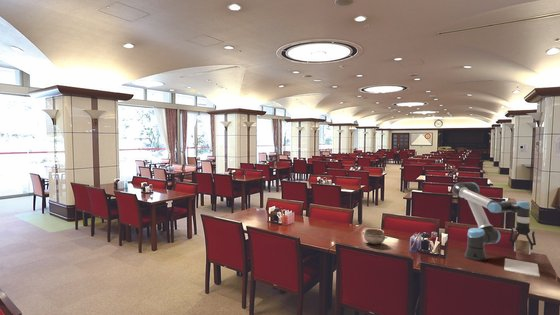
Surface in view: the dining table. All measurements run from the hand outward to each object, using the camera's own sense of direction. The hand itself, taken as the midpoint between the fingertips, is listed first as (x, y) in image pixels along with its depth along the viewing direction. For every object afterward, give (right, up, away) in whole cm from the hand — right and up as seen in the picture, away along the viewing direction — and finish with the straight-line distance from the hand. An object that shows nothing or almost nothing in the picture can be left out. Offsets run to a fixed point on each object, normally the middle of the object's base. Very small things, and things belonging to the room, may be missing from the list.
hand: (522, 252), depth 230 cm
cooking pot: (-93, -10, +58) cm, 110 cm away
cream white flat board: (+1, -12, +2) cm, 12 cm away
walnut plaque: (+3, 0, +4) cm, 5 cm away
